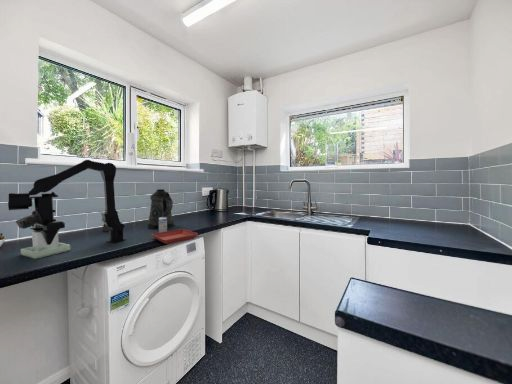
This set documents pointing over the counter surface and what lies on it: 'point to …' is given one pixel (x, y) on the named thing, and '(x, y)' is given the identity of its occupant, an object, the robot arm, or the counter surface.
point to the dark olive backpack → (160, 209)
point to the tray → (35, 254)
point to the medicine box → (162, 224)
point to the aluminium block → (43, 241)
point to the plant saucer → (174, 236)
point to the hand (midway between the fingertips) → (46, 243)
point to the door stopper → (106, 227)
